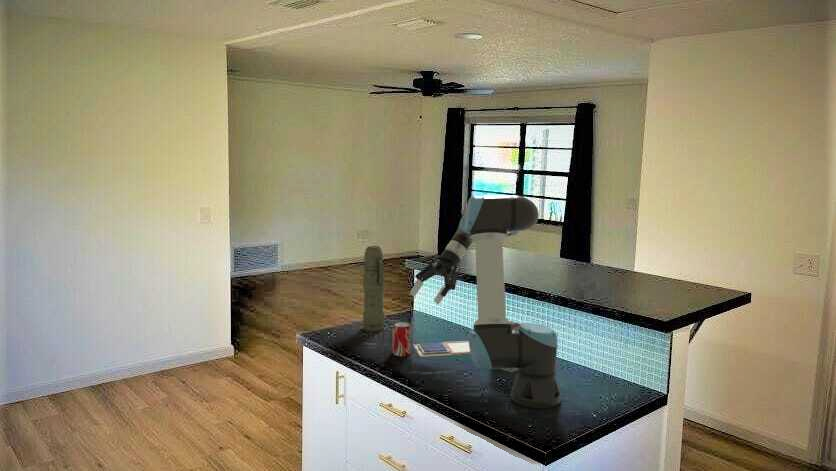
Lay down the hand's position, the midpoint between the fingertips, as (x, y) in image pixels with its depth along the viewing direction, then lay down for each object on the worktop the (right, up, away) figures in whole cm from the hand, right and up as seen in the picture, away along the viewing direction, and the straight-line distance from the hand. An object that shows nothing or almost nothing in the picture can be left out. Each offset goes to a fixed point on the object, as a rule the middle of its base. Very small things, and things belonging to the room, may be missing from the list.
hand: (423, 298), depth 237 cm
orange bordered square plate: (+15, -19, +2) cm, 24 cm away
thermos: (-21, -16, +27) cm, 38 cm away
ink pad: (+4, -19, 0) cm, 20 cm away
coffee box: (+29, -23, -16) cm, 40 cm away
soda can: (-8, -21, -4) cm, 23 cm away
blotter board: (+10, -20, +1) cm, 22 cm away
